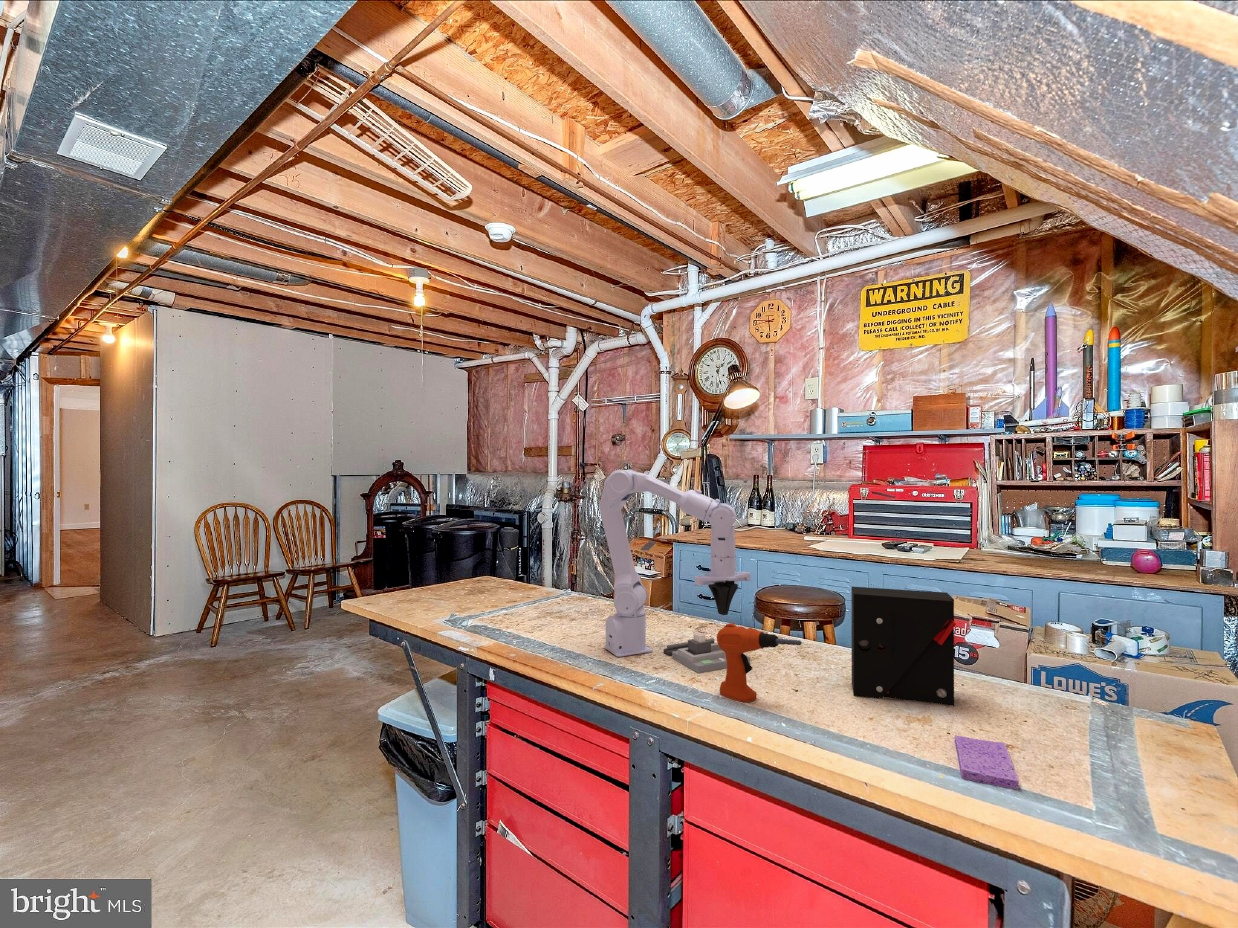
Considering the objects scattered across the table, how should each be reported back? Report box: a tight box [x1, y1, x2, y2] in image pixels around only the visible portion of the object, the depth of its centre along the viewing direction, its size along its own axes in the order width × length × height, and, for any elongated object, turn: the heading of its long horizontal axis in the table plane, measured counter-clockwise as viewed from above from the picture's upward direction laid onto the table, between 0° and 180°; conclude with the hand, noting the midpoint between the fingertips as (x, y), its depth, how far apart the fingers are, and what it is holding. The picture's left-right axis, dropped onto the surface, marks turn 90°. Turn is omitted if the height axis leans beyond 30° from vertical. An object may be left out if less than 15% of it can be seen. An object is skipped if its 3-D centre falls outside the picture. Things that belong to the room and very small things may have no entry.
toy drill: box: [716, 622, 803, 703], centre depth 110 cm, size 5×18×14 cm, turn 50°
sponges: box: [954, 734, 1020, 790], centre depth 87 cm, size 7×13×2 cm, turn 154°
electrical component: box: [850, 586, 957, 707], centre depth 114 cm, size 18×10×20 cm, turn 71°
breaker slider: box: [687, 632, 711, 655], centre depth 132 cm, size 4×3×5 cm
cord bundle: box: [663, 637, 715, 656], centre depth 140 cm, size 14×3×2 cm, turn 116°
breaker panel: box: [671, 642, 751, 674], centre depth 133 cm, size 14×11×3 cm
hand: (722, 613), depth 134 cm, fingers closed
